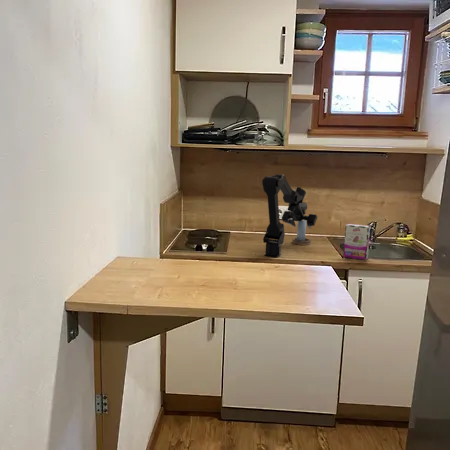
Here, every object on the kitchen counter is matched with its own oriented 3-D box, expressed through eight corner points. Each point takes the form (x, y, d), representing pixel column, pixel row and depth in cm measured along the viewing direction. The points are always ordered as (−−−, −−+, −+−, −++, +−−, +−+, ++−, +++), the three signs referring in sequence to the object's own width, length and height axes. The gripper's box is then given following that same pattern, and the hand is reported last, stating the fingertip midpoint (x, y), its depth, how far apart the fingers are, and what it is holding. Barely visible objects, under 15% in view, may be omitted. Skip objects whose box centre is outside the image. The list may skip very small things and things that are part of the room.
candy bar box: (368, 258, 230) (371, 225, 227) (365, 260, 225) (369, 227, 222) (345, 255, 235) (347, 223, 232) (342, 257, 231) (345, 224, 228)
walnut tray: (290, 243, 257) (290, 240, 256) (295, 240, 266) (295, 236, 265) (308, 245, 253) (308, 242, 252) (312, 242, 262) (312, 239, 261)
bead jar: (296, 242, 256) (298, 219, 254) (296, 240, 260) (297, 218, 258) (305, 243, 255) (306, 220, 253) (304, 241, 260) (306, 219, 258)
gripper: (317, 199, 245) (323, 217, 257) (285, 196, 255) (292, 213, 266) (310, 216, 240) (317, 234, 251) (277, 212, 250) (285, 229, 261)
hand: (302, 227), depth 258 cm, fingers open, 9 cm apart
